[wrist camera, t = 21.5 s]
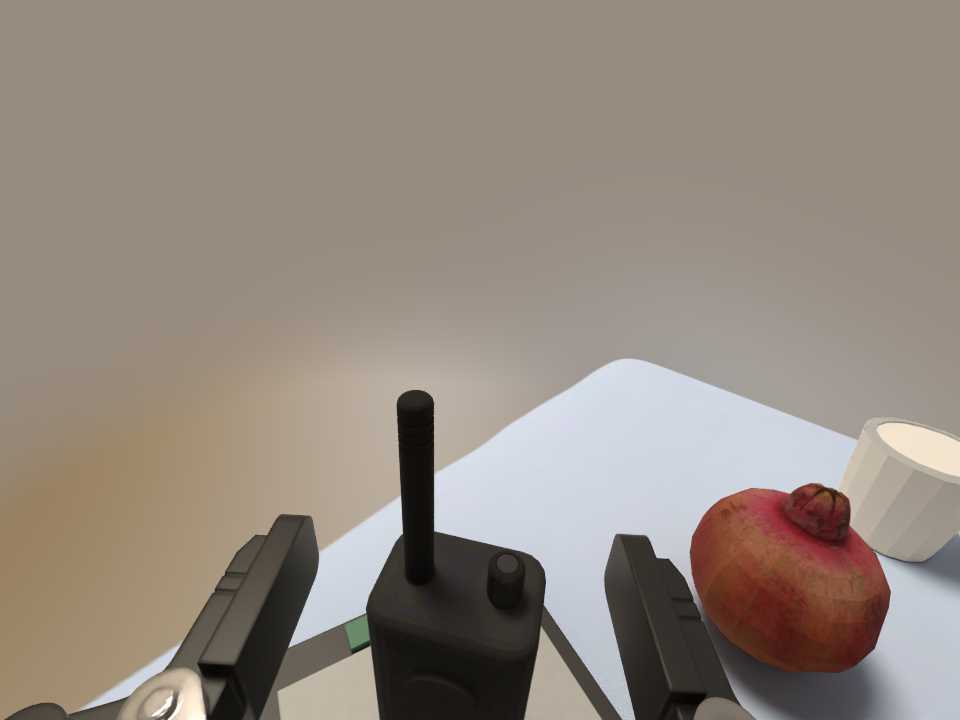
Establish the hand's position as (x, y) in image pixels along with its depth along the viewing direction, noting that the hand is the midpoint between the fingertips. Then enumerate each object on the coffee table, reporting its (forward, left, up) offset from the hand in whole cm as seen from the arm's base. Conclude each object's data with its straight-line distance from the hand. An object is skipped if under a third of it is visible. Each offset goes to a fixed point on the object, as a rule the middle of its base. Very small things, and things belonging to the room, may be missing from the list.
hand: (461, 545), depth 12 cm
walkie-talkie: (0, 0, -11) cm, 11 cm away
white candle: (-32, +2, -14) cm, 35 cm away
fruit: (-17, +2, -14) cm, 22 cm away
